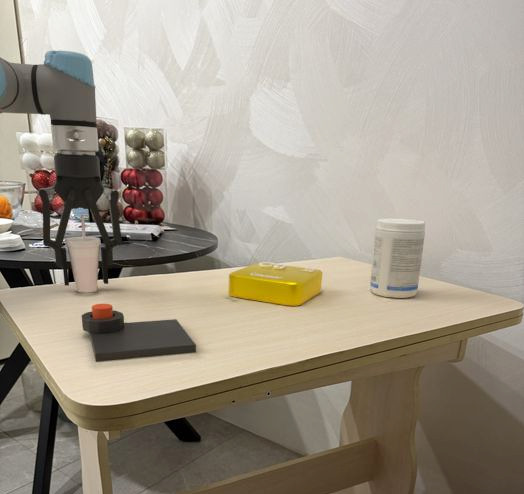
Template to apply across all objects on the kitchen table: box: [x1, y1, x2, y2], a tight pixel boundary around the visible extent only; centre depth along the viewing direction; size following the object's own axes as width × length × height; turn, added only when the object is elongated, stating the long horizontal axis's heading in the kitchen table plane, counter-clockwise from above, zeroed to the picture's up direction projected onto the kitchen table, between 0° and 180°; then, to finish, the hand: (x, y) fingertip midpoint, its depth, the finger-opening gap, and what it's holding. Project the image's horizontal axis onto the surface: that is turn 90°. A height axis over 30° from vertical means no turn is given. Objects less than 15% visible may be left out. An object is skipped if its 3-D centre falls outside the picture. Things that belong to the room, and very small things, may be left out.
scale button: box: [91, 303, 114, 319], centre depth 74 cm, size 3×3×2 cm
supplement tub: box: [369, 218, 426, 299], centre depth 105 cm, size 10×10×15 cm
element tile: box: [228, 261, 323, 307], centre depth 102 cm, size 15×15×5 cm
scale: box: [81, 309, 197, 363], centre depth 73 cm, size 14×13×3 cm
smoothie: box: [64, 214, 102, 294], centre depth 97 cm, size 6×6×14 cm
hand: (86, 282), depth 99 cm, fingers closed on smoothie, 6 cm apart
